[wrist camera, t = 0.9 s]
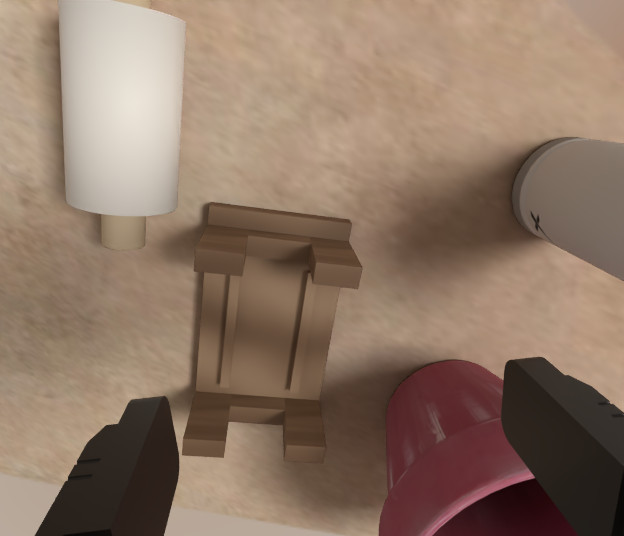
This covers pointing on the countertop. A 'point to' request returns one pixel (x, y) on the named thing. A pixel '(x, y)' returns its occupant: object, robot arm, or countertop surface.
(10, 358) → the countertop surface
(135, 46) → the roll
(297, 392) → the holder
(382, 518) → the plant pot
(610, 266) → the travel mug
